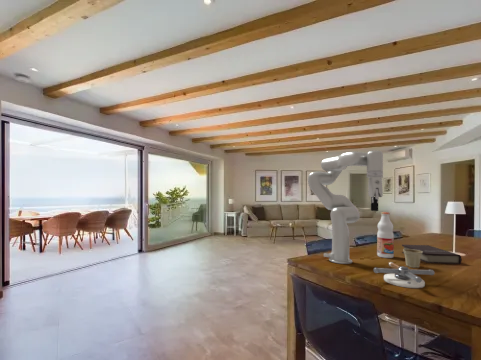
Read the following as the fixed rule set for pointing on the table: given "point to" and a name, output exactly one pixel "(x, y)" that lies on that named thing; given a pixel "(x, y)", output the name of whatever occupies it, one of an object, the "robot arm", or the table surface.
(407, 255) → the flower pot
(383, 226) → the fruit juice
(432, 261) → the book
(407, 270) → the capstan
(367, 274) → the table surface
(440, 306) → the table surface
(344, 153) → the robot arm
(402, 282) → the stand
